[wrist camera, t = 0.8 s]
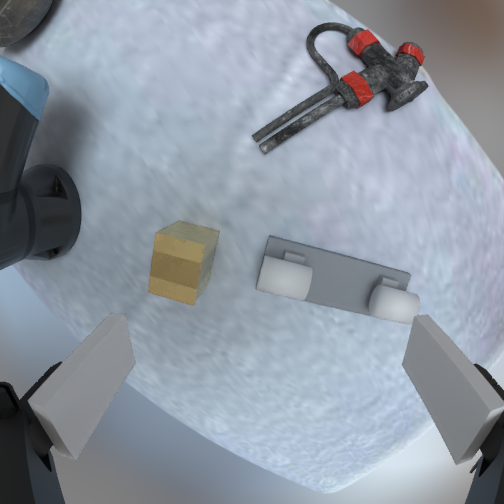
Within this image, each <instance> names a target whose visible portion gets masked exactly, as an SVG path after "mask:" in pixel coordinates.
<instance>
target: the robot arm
mask: <svg viewBox="0 0 504 504" xmlns="http://www.w3.org/2000/svg"><path fill="white" fill-rule="evenodd" d="M48 94H49V84H48V82H47V80H46V79H45V78H44V77H43V76H41V75H40V74H38V73H36V72H34V71H32V70H31V69H29V68H27V67H25V66H23V65H21V64H18V63H16V62H14V61H12V60H10V59H7V58H5V57H2V56H0V270H1V269H3V268H5V267H8V266H10V265H12V264H14V263H16V262H18V261H21V260H23V259H28V260H51V259H54V258H57V257H59V256H61V255H63V254H65V253H66V252H67V251H68V250H69V249H70V248H71V247H72V246H73V244H74V242H75V240H76V238H77V235H78V232H79V228H80V221H81V207H80V200H79V196H78V193H77V190H76V187H75V185H74V183H73V181H72V179H71V178H70V176H69V175H68V174H67V173H66V172H65V171H64V170H63V169H61V168H60V167H58V166H55V165H37V166H34V167H31V168H30V169H28V170H26V171H24V172H23V170H24V166H25V162H26V159H27V156H28V153H29V149H30V146H31V143H32V140H33V137H34V134H35V132H36V129H37V126H38V123H39V122H40V121H41V114H42V111H43V108H44V105H45V102H46V100H47V97H48ZM135 364H136V361H135V357H134V353H133V349H132V345H131V340H130V336H129V331H128V327H127V322H126V317H125V314H115V313H111V314H110V315H109V316H108V317H107V318H106V319H105V320H104V321H103V322H102V323H101V324H100V325H99V326H98V327H97V328H96V329H95V330H94V331H93V332H92V333H91V334H90V335H89V336H88V337H87V338H86V339H85V340H84V341H83V342H82V343H81V344H80V345H79V346H78V347H77V348H76V349H75V350H74V351H73V352H72V353H71V354H70V355H69V356H68V357H67V358H66V360H65V361H64V362H59V363H57V364H55V365H53V366H52V367H50V368H49V369H48V370H47V371H46V372H45V374H44V376H42V377H41V378H40V379H39V380H38V382H36V383H35V384H34V385H33V386H32V387H31V388H30V389H29V390H28V392H27V393H26V394H25V395H24V396H23V397H22V398H21V399H20V400H19V399H18V397H17V395H16V393H15V391H14V389H13V387H12V386H11V384H9V383H7V382H0V504H65V501H64V498H63V495H62V491H61V488H60V484H59V481H58V477H57V473H56V469H55V464H54V460H53V456H52V454H51V452H50V448H51V447H52V445H54V446H55V448H56V449H57V451H58V453H59V454H60V455H62V456H65V457H67V458H70V459H72V460H75V461H76V459H77V457H78V456H79V454H80V452H81V451H82V449H83V447H84V446H85V444H86V442H87V440H88V439H89V437H90V435H91V434H92V432H93V431H94V429H95V427H96V426H97V424H98V422H99V421H100V419H101V418H102V416H103V414H104V413H105V411H106V409H107V408H108V406H109V405H110V403H111V401H112V400H113V398H114V397H115V395H116V393H117V392H118V390H119V389H120V387H121V386H122V384H123V382H124V381H125V379H126V378H127V376H128V375H129V373H130V371H131V370H132V368H133V367H134V365H135ZM402 366H403V368H404V369H405V371H406V373H407V374H408V376H409V378H410V380H411V381H412V383H413V385H414V386H415V388H416V390H417V392H418V394H419V395H420V397H421V399H422V401H423V402H424V404H425V406H426V408H427V410H428V412H429V413H430V415H431V417H432V419H433V421H434V423H435V425H436V427H437V428H438V430H439V432H440V434H441V436H442V438H443V440H444V442H445V444H446V446H447V448H448V450H449V452H450V454H451V456H452V458H453V460H454V462H455V464H456V465H458V464H460V463H463V462H466V461H468V460H471V459H472V458H473V457H474V455H475V454H476V453H477V451H478V450H479V448H480V450H481V452H482V456H481V457H480V459H479V460H478V461H477V462H476V464H475V465H474V466H473V468H472V469H471V471H470V473H472V472H473V471H474V470H475V469H476V468H477V469H476V472H475V475H474V478H473V482H472V485H471V488H470V491H469V494H468V497H467V499H466V502H465V504H504V390H503V389H502V388H501V387H500V385H497V382H496V381H495V379H492V376H491V375H490V374H489V373H488V371H487V370H486V369H484V368H483V367H481V366H480V365H478V364H472V362H471V361H470V360H469V359H468V358H467V357H466V355H465V354H464V353H463V352H462V351H461V350H460V349H459V348H458V347H457V345H456V344H455V343H454V342H453V341H452V340H451V339H450V338H449V337H448V336H447V334H446V333H445V332H444V331H443V330H442V329H441V328H440V327H439V326H438V325H437V324H436V323H435V322H434V321H433V319H432V318H431V317H430V316H429V315H417V316H414V319H413V324H412V328H411V332H410V336H409V340H408V344H407V348H406V352H405V356H404V359H403V363H402Z"/></svg>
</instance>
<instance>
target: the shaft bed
mask: <svg viewBox="0 0 504 504" xmlns="http://www.w3.org/2000/svg"><path fill="white" fill-rule="evenodd" d="M410 278H411V274H409V273H407V272H404V271H400V270H397V269H393V268H390V267H386V266H382V265H379V264H375V263H372V262H368V261H364V260H361V259H357V258H353V257H350V256H346V255H342V254H338V253H335V252H331V251H327V250H324V249H320V248H316V247H312V246H308V245H305V244H301V243H297V242H293V241H289V240H285V239H282V238H278V237H274V236H269V239H268V243H267V247H266V251H265V255H264V259H263V262H262V266H261V270H260V274H259V278H258V281H257V285H256V290H260V291H264V292H268V293H272V294H276V295H280V296H284V297H288V298H292V299H297V300H301V301H307V302H311V303H315V304H320V305H324V306H328V307H333V308H337V309H341V310H346V311H350V312H355V313H359V314H364V315H368V316H371V317H376V318H380V319H385V320H390V321H394V322H399V323H404V324H412V323H413V319H414V316H417V315H418V314H419V311H420V298H419V296H418V295H417V294H414V293H410V292H406V288H407V286H408V283H409V280H410Z"/></svg>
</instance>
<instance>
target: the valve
mask: <svg viewBox="0 0 504 504" xmlns="http://www.w3.org/2000/svg"><path fill="white" fill-rule="evenodd" d="M327 29H339V30H343V31H345V32H347V33H349V34H348V35H347V40H348V42H349V43H348V46H349V47H350V48H351V49H352V50H353V51H354V52H355V53H356V54H357V55H358V56H359V57H360V58H362V59H363V61H364V62H365V63H366V64H367V65H368V66H369V67H368V68H367V69H365V70H363V71H361V72H359V73H356V72H355V71H352V72H350V73H348V74H347V75H345V76H343V77H341V79H340V82H339V78H338V75H337V74H336V72H335V71H334V70H333V69H332V67H331V66H330V65H329V64H328V63H327V62H326V61H325V60H324V59H323V57H322V56H321V55H320V54H319V53H318V52H317V50H316V48H315V46H314V41H315V38H316V36H317V35H318V34H319V33H320V32H322V31H324V30H327ZM307 48H308V51H309V53H310V54H311V56H312V57H313V58H314V59H315V61H316V62H317V63H318V64H319V65H320V66H321V67H322V68H323V70H324V71H325V72H326V73H327V74H328V75H329V77H330V78H331V83H330V85H329V86H328V87H326V88H324V89H323V90H321V91H319V92H318V93H316V94H314V95H313V96H311V97H309V98H308V99H306V100H305V101H303V102H301V103H300V104H298V105H297V106H295V107H294V108H292V109H290V110H289V111H287V112H286V113H284V114H283V115H281V116H280V117H278V118H277V119H275V120H274V121H272V122H271V123H269V124H268V125H266V126H265V127H263V128H262V129H260V130H259V131H257V132H256V133H255V134H253V135H252V137H253V138H254V139H255V141H256V142H257V141H259V140H260V139H262V138H263V137H265V136H266V135H267V134H269V133H270V132H272V131H273V130H275V129H276V128H278V127H279V126H281V125H282V124H284V123H285V122H287V121H288V120H290V119H292V118H293V117H295V116H296V115H298V114H299V113H301V112H302V111H304V110H306V109H307V108H309V107H310V106H312V105H314V104H315V103H317V102H318V101H320V100H322V99H323V98H325V97H327V96H328V95H330V94H332V93H333V92H334V91H335V94H336V96H335V97H333V98H331V99H330V100H328V101H326V102H325V103H323V104H321V105H320V106H318V107H317V108H315V109H313V110H312V111H310V112H309V113H307V114H305V115H304V116H302V117H301V118H299V119H298V120H296V121H295V122H293V123H291V124H290V125H288V126H287V127H285V128H284V129H282V130H281V131H279V132H278V133H276V134H275V135H273V136H272V137H270V138H269V139H267V140H266V141H264V142H263V143H262V144H260V145H259V146H260V148H261V149H262V151H263V152H264V154H266V153H267V152H269V151H270V150H272V149H273V148H275V147H276V146H278V145H279V144H281V143H282V142H284V141H285V140H287V139H288V138H290V137H291V136H293V135H294V134H296V133H297V132H299V131H300V130H302V129H303V128H305V127H306V126H308V125H310V124H311V123H313V122H314V121H316V120H317V119H319V118H321V117H322V116H324V115H325V114H327V113H329V112H330V111H332V110H334V109H335V108H337V107H339V106H340V105H342V104H343V105H344V106H345V107H346V108H353V107H357V108H359V107H361V106H363V105H364V104H366V103H368V102H369V101H370V100H371V99H372V98H373V97H374V96H373V95H375V94H376V93H378V92H380V91H381V90H383V89H385V88H386V89H387V91H388V92H389V93H390V94H391V99H390V103H389V104H388V106H387V107H388V108H389V110H390V111H394V110H396V109H398V108H400V107H401V106H403V105H405V104H407V103H408V102H412V101H413V100H414V98H416V97H417V96H418V95H420V94H421V93H422V92H423V91H425V90H426V89H427V88H428V84H427V83H426V82H425V81H422V82H419V81H415V82H414V80H415V77H416V74H417V72H418V69H419V66H421V65H422V63H423V60H424V55H423V51H422V49H421V48H420V47H419V46H418V45H417V44H415V43H413V42H405V43H403V45H402V46H400V47H399V49H398V52H397V54H396V56H397V60H395V59H394V58H393V57H392V56H391V55H390V53H388V52H387V51H386V50H385V49H384V48H383V47H382V45H381V44H380V42H379V41H378V39H377V38H376V37H375V36H374V35H373V34H372V33H371V32H370V31H369V30H364V29H362V28H355V29H352V28H351V27H349V26H347V25H344V24H341V23H324V24H321V25H318V26H316V27H315V28H313V29H312V31H311V32H310V33H309V35H308V37H307Z"/></svg>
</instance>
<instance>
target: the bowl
mask: <svg viewBox="0 0 504 504" xmlns="http://www.w3.org/2000/svg"><path fill="white" fill-rule="evenodd" d="M52 2H53V0H0V47H6V46H8V45H11V44H13V43H16V42H17V41H19V40H21V39H22V38H23V37H25V36H26V35H28V34H29V33H30V32H31V31H32V30H33V29H34V28H35V27H36V26H37V25H38V24H39V23H40V22H41V21H42V20H43V18H44V17H45V15H46V14H47V12H48V10H49V8H50V7H51V4H52Z"/></svg>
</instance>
